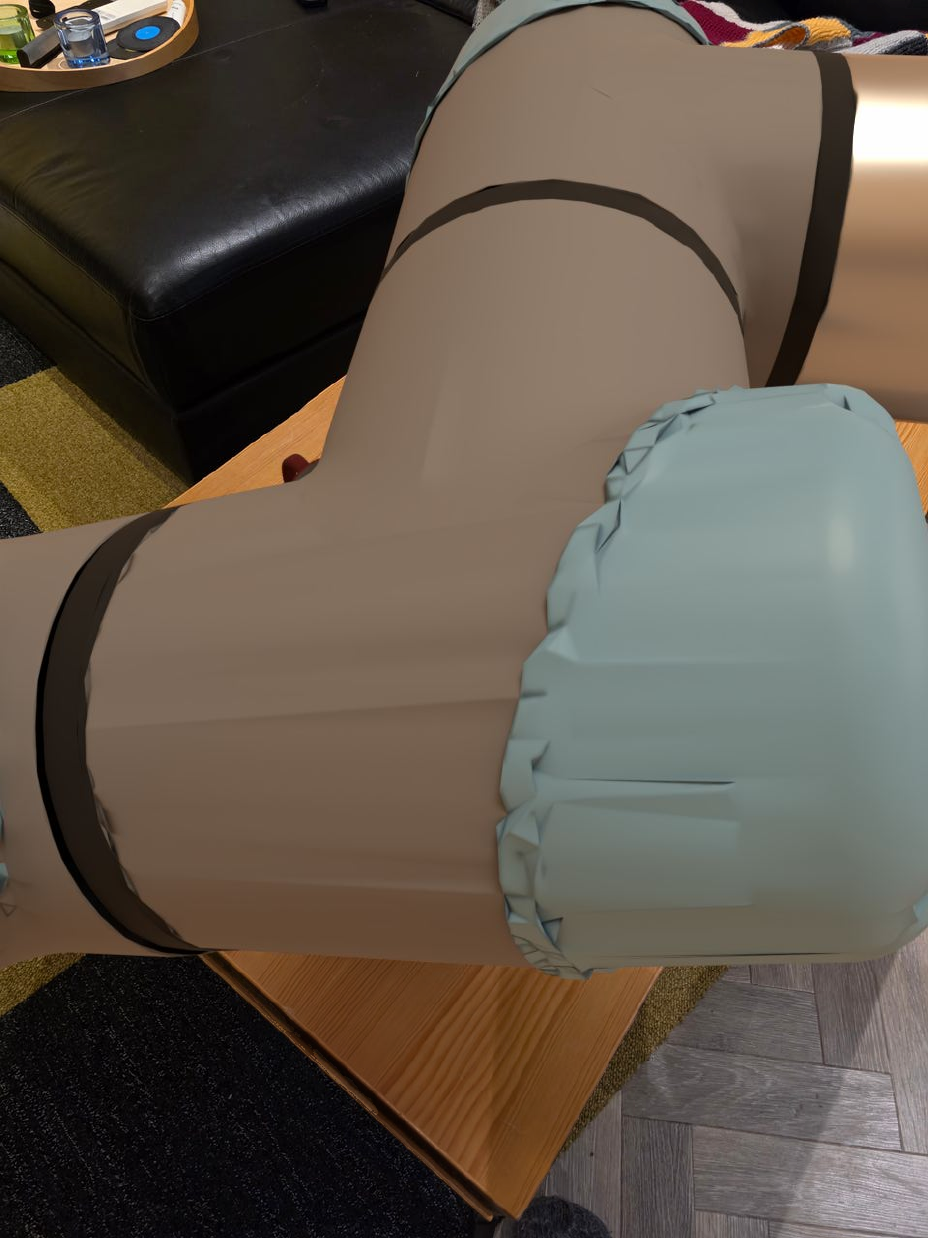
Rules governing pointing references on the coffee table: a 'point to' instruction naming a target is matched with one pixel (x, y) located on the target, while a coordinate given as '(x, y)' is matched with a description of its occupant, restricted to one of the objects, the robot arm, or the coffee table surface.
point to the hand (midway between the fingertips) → (524, 623)
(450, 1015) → the coffee table surface
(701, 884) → the robot arm
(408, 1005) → the coffee table surface
